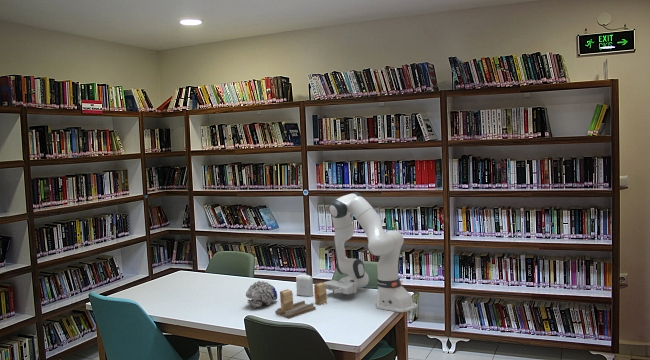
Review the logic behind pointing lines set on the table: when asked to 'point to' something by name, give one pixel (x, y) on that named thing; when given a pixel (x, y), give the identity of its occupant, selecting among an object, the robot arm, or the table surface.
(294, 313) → the wooden block stand
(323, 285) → the wooden block
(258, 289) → the educational model
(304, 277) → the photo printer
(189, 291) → the table surface
